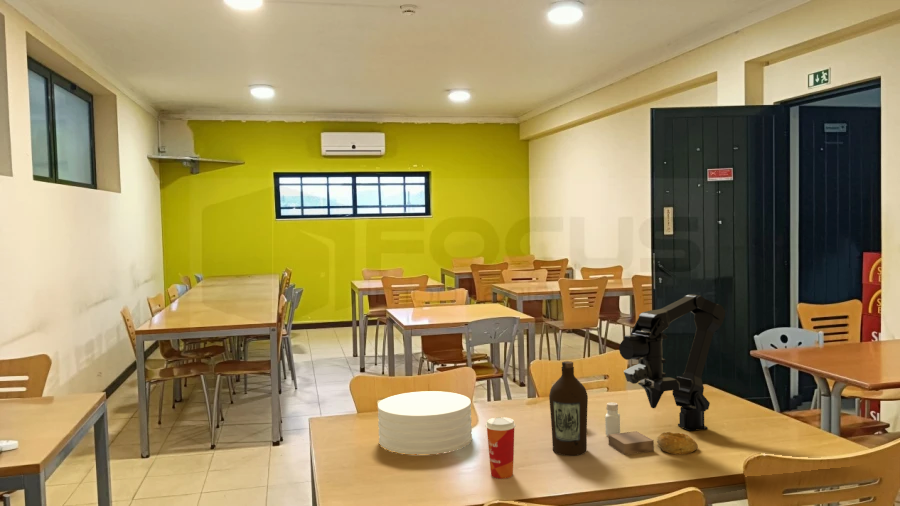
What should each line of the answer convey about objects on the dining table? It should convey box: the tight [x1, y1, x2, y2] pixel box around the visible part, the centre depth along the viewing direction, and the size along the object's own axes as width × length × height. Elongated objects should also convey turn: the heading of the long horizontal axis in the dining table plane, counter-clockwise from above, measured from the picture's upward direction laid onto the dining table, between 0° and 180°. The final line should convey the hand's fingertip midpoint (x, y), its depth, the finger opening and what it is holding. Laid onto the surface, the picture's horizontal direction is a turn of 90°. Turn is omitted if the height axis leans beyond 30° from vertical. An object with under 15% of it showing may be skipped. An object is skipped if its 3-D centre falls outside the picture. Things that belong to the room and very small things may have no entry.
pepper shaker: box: [604, 402, 621, 437], centre depth 201 cm, size 4×4×10 cm
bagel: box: [656, 431, 699, 455], centre depth 188 cm, size 10×11×5 cm
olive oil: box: [548, 360, 589, 457], centre depth 189 cm, size 11×11×25 cm
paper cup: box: [485, 416, 516, 480], centre depth 172 cm, size 8×8×14 cm
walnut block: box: [607, 430, 655, 456], centre depth 190 cm, size 9×9×3 cm
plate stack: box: [377, 390, 473, 456], centre depth 203 cm, size 28×28×12 cm
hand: (653, 407), depth 198 cm, fingers closed
